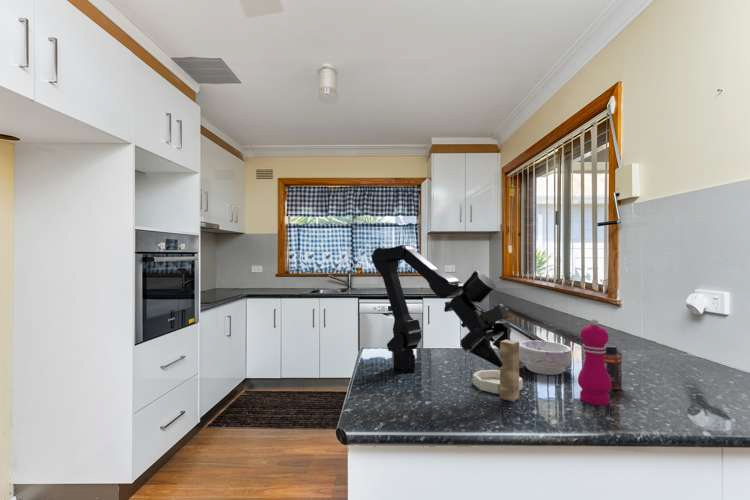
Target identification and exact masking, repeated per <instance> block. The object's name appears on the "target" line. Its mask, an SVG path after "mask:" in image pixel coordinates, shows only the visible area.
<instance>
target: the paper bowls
mask: <svg viewBox="0 0 750 500" xmlns="http://www.w3.org/2000/svg"><path fill="white" fill-rule="evenodd" d="M572 356H573V354H572V348H571V346H568V345H565V344H564V343H560V342H556V341H555V342H554V341H548V340H536V339H535V340H523V341H521V342H519V362H522V363H523V364H524V366H525V368H526V369H527V370H528V371H529V372H532V373H535V374H539V375H546V376H555V375H560V374H562V373H564V371H565V369H566V368H569V367H570V366H571V365H572V363H573V362H572V361H573V358H572Z"/></svg>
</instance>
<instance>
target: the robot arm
mask: <svg viewBox="0 0 750 500" xmlns="http://www.w3.org/2000/svg"><path fill="white" fill-rule="evenodd" d="M399 261H404V262H405V263H407V265H409V267H411V268H412V269H413V270H414V271H416V272H417V273H418V274H419V276H421V277H422V278H424V280H425V281H426V282H427V283H428V286H429V288H430V289H431V291H432V292H433V293H434V294H435V295H436V296H437V297H438V298H439V299H447V298H452V299H450V301H445V302H444V308H443V309H444V310H443V311H444V312H445V313H446V312H452V311H453V312H454V313H455V314H456V316H457V317H458V318H459V320H460V321H461V322H462V323H461V324H460V326H461V327H462V328H466V329H467V330H468V331H469V332H467V334H465V335H464V336H463V338H461V340H460V347H461V348H462V349H463V351H464V352H468V353H469V354H472V355H475V356H477V357H479V358H480V359H482V360H485V361H487V362H488V363H490V364H492V365H494V366H496V367H498V368H499V369H500V367H502V366H503V364H502V362H501V360H500V356H498V355H497V353H496V352H495V350H494V348H493V346H494V347H495V348H497V349H499V350H500V341H503V340H511V333H512V328H513V327H512V326H511V324H510V323H509V322H508V321H501V320H503V319H509V318H510V314H509V312H510V309H509V308H508V307H507V305H504V304H503V303H499V304H497V305H494V307H493V308H492V309H489V310H485V309H480V308H479V307H478V306H477V305H476V304H475V303H479V304H480V303H482V302H484V301H485V299H486V298H487V297H488V296H490V294H492V292H493V291H495V289H496V288H497V285H496V284H495V282H494V281H493V280H492V279H491V278H489V277H488V276H486V275H485V274H484V273H482V272H481V271H479V270H474V271H473V272H472V273H471V275H470V277H469V278H467V280H466V281H465V282H463V281H460V280H459V279H458V278H457V277H455V276H453V275H452V274H449V273H448V272H444V271H442V270H440V269H438V268H437V267H436V266H435V265H433V264H432V263H431V262H430V261H429V260H427V259H426V258H425V257H424V256H423V255H421V254H420V253H419V252H418V251H417V250H415V249H414V248H413V246H412V245H407V244H400V245H398V246H394V247H393V246H392V247H377V248H375V249H374V250H373V251H372V254H371V262H372V263H373V266H374V268H375V270H377V272H378V273H379V275H381V276H382V277H381V278H382V280H383V283H384V287H385V290H386V294H387V297H388V300H389V304H390V308H391V311H392V315H393V318H394V322H393V326H392V327H393V328H392V333H393V337H392V338H391V339H390V340H389V341H388V342H387V343H386V347H387V351H388V352H391V365H390V369H391V370H392V372H393V373H396V374H398V373H401V374H402V373H415V372H416V370H415V369H416V354H414V350H416V349H417V348H418V346H419V343H420V342H421V339H422V337H423V336H422V333H423V330H422V328H421V326H420V321H419V319H414V318H413V317H412V316H411V314H410V311H409V307H408V304H407V302H406V298H405V294H404V291H403V287H402V284H401V281H400V277H399V274H398V269H399V265H400V262H399ZM499 321H500V322H499ZM491 343H492V345H493V346H491Z"/></svg>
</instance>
